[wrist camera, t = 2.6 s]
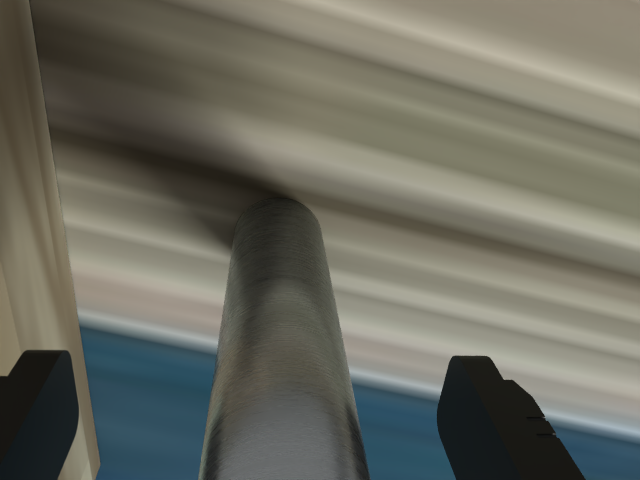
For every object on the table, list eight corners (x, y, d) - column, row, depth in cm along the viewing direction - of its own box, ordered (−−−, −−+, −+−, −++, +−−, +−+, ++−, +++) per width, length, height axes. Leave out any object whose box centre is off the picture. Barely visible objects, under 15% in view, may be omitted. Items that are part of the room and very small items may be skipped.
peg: (325, 200, 17) (469, 788, 5) (318, 277, 18) (414, 894, 6) (234, 196, 17) (127, 818, 4) (233, 274, 18) (150, 923, 6)
